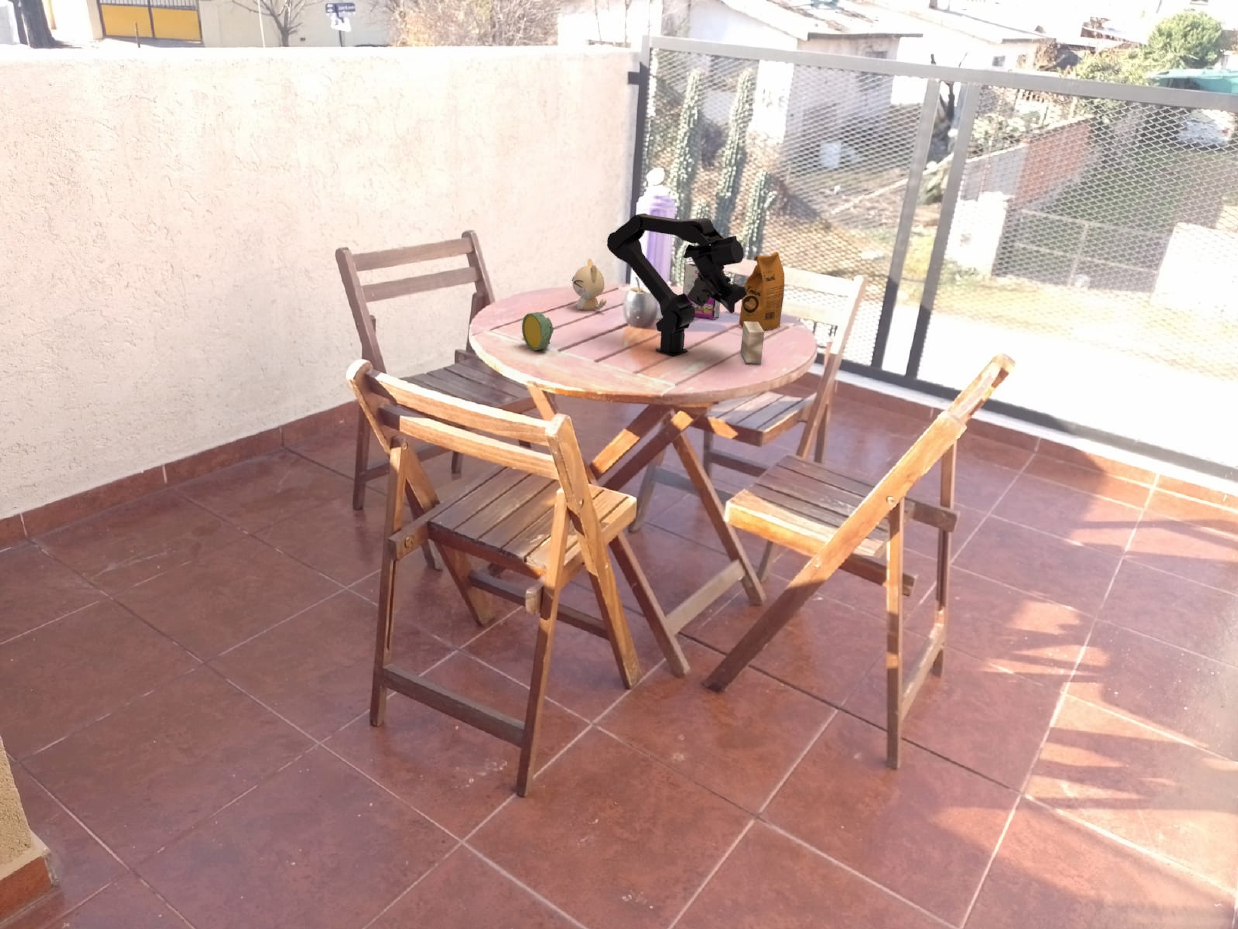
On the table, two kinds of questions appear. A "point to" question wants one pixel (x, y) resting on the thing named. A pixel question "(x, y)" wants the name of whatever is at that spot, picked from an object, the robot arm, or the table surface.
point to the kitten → (589, 287)
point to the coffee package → (764, 293)
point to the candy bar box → (690, 275)
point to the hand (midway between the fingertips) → (732, 312)
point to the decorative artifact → (537, 330)
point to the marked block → (752, 343)
